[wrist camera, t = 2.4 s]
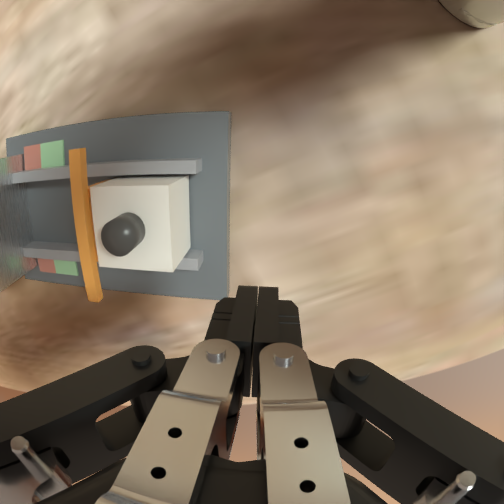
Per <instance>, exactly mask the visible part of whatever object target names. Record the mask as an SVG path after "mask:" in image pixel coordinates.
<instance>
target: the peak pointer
mask: <svg viewBox="0 0 504 504" xmlns="http://www.w3.org/2000/svg"><path fill="white" fill-rule="evenodd" d="M69 167H70V182H71V194H72V204H73V213H74V222H75V229H76V236H77V243H78V250H79V256H80V261H81V267H82V272H83V277H84V282H85V287H86V292H87V297H88V301H91V302H98V303H99V302H100V301H101V300H102V299H103V294H102V289H101V283H100V278H99V272H98V266H97V262H99V261H98V255H97V248H96V241H95V233H94V225H93V216H92V206H91V195H90V187H92V186H94V185H97V184H100V183H103V182H106V181H108V180H111V179H107V180H104V181H101V182H98V183H95V184H93V185H90V186H88V180H87V162H86V148H78V149H71V150H69Z"/></svg>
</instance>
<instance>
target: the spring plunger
mask: <svg viewBox="0 0 504 504" xmlns="http://www.w3.org/2000/svg"><path fill="white" fill-rule="evenodd" d="M90 195H91V206H92V216H93V225H94V233H95V241H96V248H97V255H98V261H99V267H109V268H121V269H134V270H147V271H160V272H174V270H175V269H176V268H177V266H178V265H179V263H180V262H181V260H182V259H183V257H184V256H185V255H186V253H187V252H188V250H189V249H190V247H191V244H190V213H189V175H146V176H120V177H117V178H114V179H111V180H108V181H106V182H103V183H100V184H97V185H94V186H92V187H90Z"/></svg>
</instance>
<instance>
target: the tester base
mask: <svg viewBox="0 0 504 504" xmlns="http://www.w3.org/2000/svg"><path fill="white" fill-rule="evenodd" d="M230 147H231V112H229V111H212V112H182V113H165V114H151V115H140V116H130V117H121V118H113V119H105V120H98V121H91V122H84V123H78V124H72V125H67V126H61V127H56V128H51V129H46V130H41V131H37V132H32V133H28V134H23V135H19V136H15V137H11V138H7V139H6V148H7V157H10V156H15V155H20V154H24V161H25V170H24V171H20V172H16V173H13V174H12V175H13V184H14V183H23V182H26V187H27V196H28V205H29V212H30V219H31V226H32V232H33V238H34V241H33V242H32V243H30V244H28V245H27V246H25V247H23V251H24V256H25V257H31V258H37V259H38V263H39V265H38V266H36V267H35V268H33V269H32V270H30V271H29V272H28V273H26V274H25V278H26V279H31V280H38V281H45V282H52V283H59V284H66V285H74V286H82V287H85V282H84V277H83V272H82V267H81V261H80V256H79V250H78V243H77V236H76V229H75V222H74V213H73V204H72V194H71V182H70V167H69V150H71V149H78V148H86V162H87V180H88V186H90V185H93V184H95V183H98V182H101V181H104V180H107V179H114V178H117V177H120V176H146V175H189V213H190V244H191V247H190V249H189V250H188V252H187V253H186V255H185V256H184V257H183V259H182V260H181V262H180V263H179V265H178V266H177V268H176V269H175V270H174V272H160V271H147V270H134V269H121V268H109V267H99V262H97V266H98V272H99V278H100V283H101V289H106V290H115V291H124V292H133V293H143V294H153V295H164V296H175V297H187V298H199V299H212V300H221V299H223V298H224V297H228V295H229V211H230Z"/></svg>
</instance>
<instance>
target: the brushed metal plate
mask: <svg viewBox="0 0 504 504" xmlns="http://www.w3.org/2000/svg"><path fill="white" fill-rule="evenodd" d="M24 170H25V161H24V154H20V155H15V156H10V157H5V158H1V159H0V292H2V291H3V290H4V289H6V288H7V287H8V286H10V285H11V284H12V283H14V282H15V281H16V280H18V279H19V278H21V277H22V276H23V275H25V274H26V273H28V272H29V271H30V270H32V269H33V268H35V267H36V266H38V265H39V263H38V259H37V258H31V257H25V256H24V251H23V247H25V246H27V245H28V244H30V243H32V242H33V241H34V238H33V232H32V226H31V219H30V212H29V205H28V196H27V187H26V182H23V183H14V184H13V175H12V174H13V173H16V172H20V171H24Z"/></svg>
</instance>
